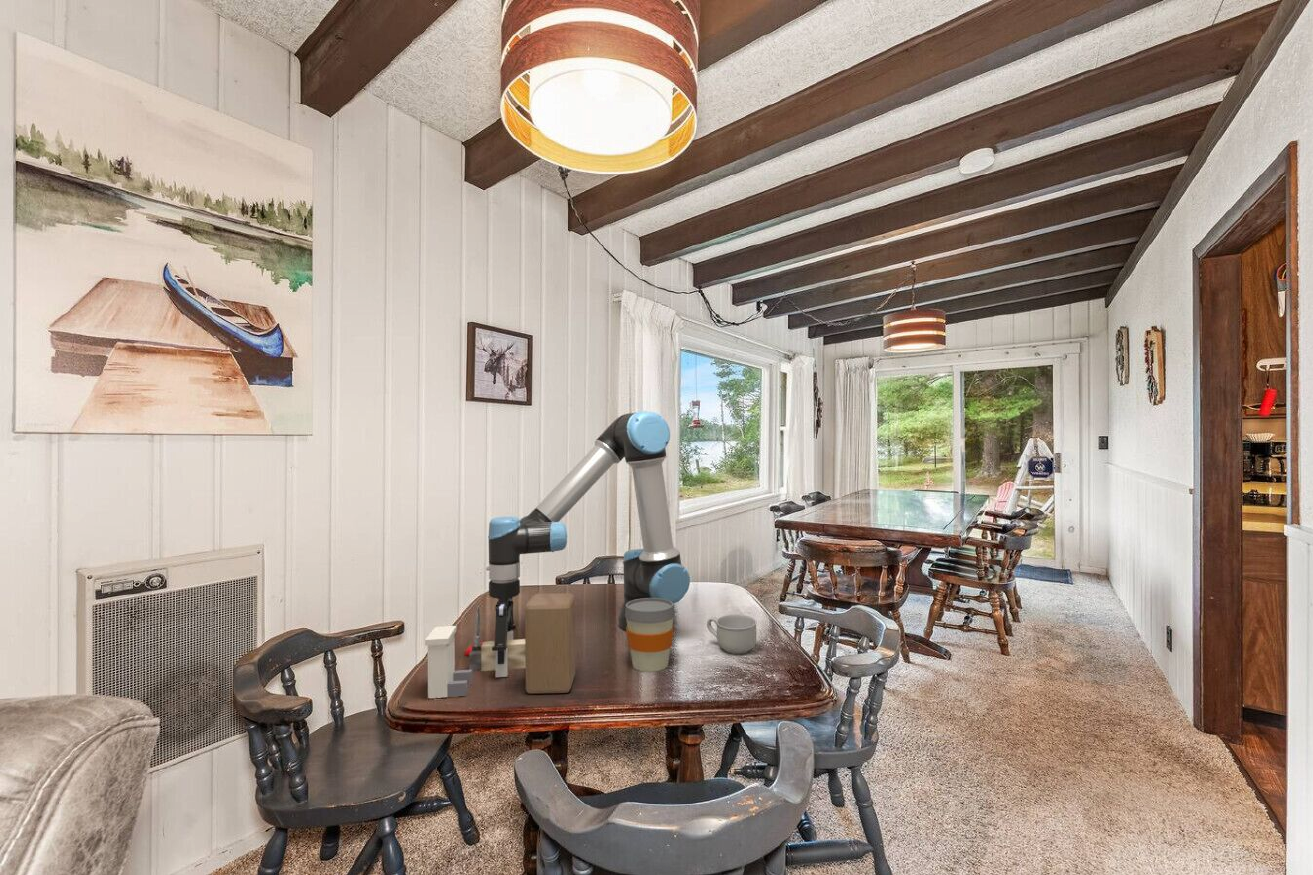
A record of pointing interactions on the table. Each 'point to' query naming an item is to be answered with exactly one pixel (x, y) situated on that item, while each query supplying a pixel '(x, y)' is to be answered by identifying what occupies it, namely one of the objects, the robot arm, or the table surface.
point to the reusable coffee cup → (650, 632)
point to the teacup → (734, 632)
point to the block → (550, 643)
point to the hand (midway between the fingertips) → (504, 666)
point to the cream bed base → (445, 665)
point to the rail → (486, 656)
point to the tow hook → (477, 644)
